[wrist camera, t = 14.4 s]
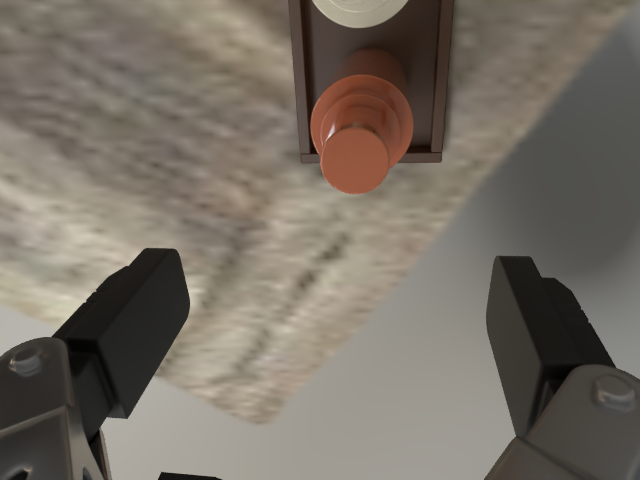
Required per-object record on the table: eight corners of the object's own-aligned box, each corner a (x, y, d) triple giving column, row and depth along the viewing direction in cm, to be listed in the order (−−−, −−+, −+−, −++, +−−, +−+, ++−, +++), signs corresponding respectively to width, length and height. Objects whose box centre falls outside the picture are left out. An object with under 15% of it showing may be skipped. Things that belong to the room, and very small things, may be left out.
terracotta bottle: (331, 48, 33) (286, 99, 19) (408, 45, 32) (422, 95, 18) (334, 124, 35) (297, 218, 21) (405, 123, 35) (415, 220, 21)
